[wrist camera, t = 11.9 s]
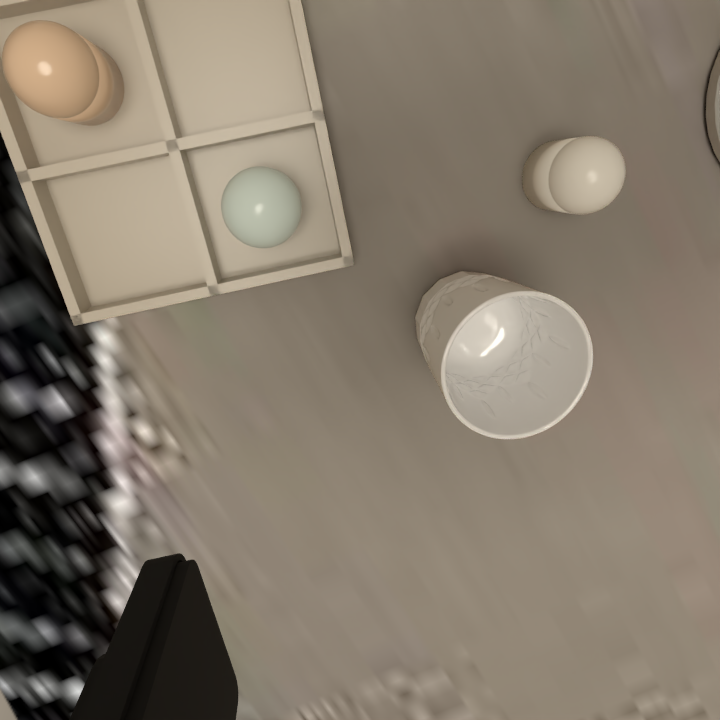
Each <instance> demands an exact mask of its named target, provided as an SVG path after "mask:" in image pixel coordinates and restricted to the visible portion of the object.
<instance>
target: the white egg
mask: <svg viewBox="0 0 720 720" xmlns="http://www.w3.org/2000/svg"><path fill="white" fill-rule="evenodd" d="M625 176H626V165H625V161H624V158H623V155H622V154H621V152H620V150H619V149H618V148H617V147H616V146H615V145H614V144H613V143H612V142H610V141H608V140H606V139H604V138H601V137H597V136H583V137H576V138H569V139H562V140H555V141H550V142H547V143H544V144H542V145H541V146H539V147H538V148H537V149H535V150H534V151H533V152H532V154H531V155H530V156H529V158H528V159H527V161H526V163H525V166H524V169H523V173H522V185H523V189H524V192H525V195H526V196H527V198H528V200H529V201H530V202H531V203H532V204H533V205H535V206H536V207H538V208H540V209H543V210H549V211H556V212H563V213H571V214H590V213H594V212H597V211H599V210H601V209H603V208H605V207H606V206H608V205H609V204H610V203H611V202H612V201H613V200H614V199H615V198H616V197H617V195H618V194H619V192H620V191H621V189H622V187H623V184H624V181H625Z"/></svg>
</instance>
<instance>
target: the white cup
mask: <svg viewBox="0 0 720 720" xmlns="http://www.w3.org/2000/svg"><path fill="white" fill-rule="evenodd" d="M415 323H416V334H417V340H418V342H419V344H420V346H421V348H422V351H423V354H424V357H425V359H426V362H427V364H428V366H429V368H430V370H431V373H432V375H433V377H434V379H435V380H436V382H437V384H438V386H439V388H440V390H441V392H442V394H443V396H444V398H445V400H446V401H447V403H448V405H449V407H450V409H451V410H452V412H453V413H454V415H455V416H456V417H457V418H458V419H459V420H460V421H461V422H462V423H463V424H464V425H466V426H467V427H468V428H470V429H472V430H473V431H475V432H477V433H479V434H482V435H485V436H488V437H492V438H497V439H519V438H524V437H529V436H532V435H535V434H538V433H540V432H542V431H544V430H546V429H548V428H550V427H552V426H553V425H555V424H556V423H558V422H559V421H560V420H562V419H563V418H564V417H565V416H566V415H567V414H568V413H569V412H570V411H571V410H572V409H573V408H574V407H575V405H576V404H577V403H578V401H579V400H580V398H581V397H582V395H583V393H584V391H585V389H586V387H587V384H588V382H589V379H590V375H591V371H592V365H593V347H592V341H591V337H590V334H589V332H588V329H587V327H586V325H585V323H584V322H583V320H582V318H581V317H580V316H579V315H578V313H577V312H576V311H575V310H574V309H573V308H572V307H571V306H569V305H568V304H567V303H565V302H564V301H562V300H560V299H559V298H557V297H554V296H552V295H549V294H546V293H544V292H541V291H538V290H535V289H532V288H530V287H527V286H524V285H522V284H519V283H516V282H513V281H510V280H506V279H503V278H500V277H496V276H492V275H488V274H485V273H477V272H466V271H460V272H458V273H455V274H452V275H450V276H447V277H444V278H442V279H439V280H438V281H437V282H436V283H435V284H434V285H433V286H432V287H431V288H430V289H429V290H428V291H427V292H426V293H425V294H424V295H423V297H422V300H421V303H420V305H419V308H418V311H417V313H416V316H415Z"/></svg>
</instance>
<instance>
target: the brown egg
mask: <svg viewBox="0 0 720 720" xmlns="http://www.w3.org/2000/svg"><path fill="white" fill-rule="evenodd" d="M2 67H3V72H4V75H5V78H6V80H7V82H8V84H9V86H10V88H11V89H12V91H13V92H14V93H15V95H16V96H17V97H18V98H19V99H20V100H21V101H22V102H23V103H24V104H25V105H27V106H28V107H29V108H31V109H32V110H34V111H36V112H38V113H40V114H42V115H45V116H48V117H52V118H56V119H60V120H64V121H68V122H72V123H76V124H81V125H86V126H94V125H100V124H103V123H105V122H107V121H109V120H110V119H112V118H113V117H114V116H115V115H116V113H117V112H118V111H119V109H120V107H121V105H122V102H123V99H124V81H123V77H122V74H121V72H120V69H119V67H118V66H117V64H116V62H115V61H114V60H113V59H112V57H111V56H110V55H109V54H108V53H107V52H105V51H104V50H103V49H101V48H100V47H98V46H97V45H95V44H94V43H92V42H90V41H89V40H87V39H86V38H84V37H83V36H81V35H79V34H78V33H76V32H75V31H73V30H72V29H70V28H68V27H66V26H64V25H62V24H59V23H56V22H53V21H47V20H35V21H30V22H26V23H24V24H22V25H20V26H18V27H17V28H15V29H14V30H13V31H12V32H11V33H10V35H9V36H8V38H7V39H6V41H5V44H4V47H3V51H2Z"/></svg>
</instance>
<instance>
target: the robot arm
mask: <svg viewBox="0 0 720 720" xmlns="http://www.w3.org/2000/svg"><path fill="white" fill-rule="evenodd" d="M706 121H707V128H708V135H709V138H710V141H711V144H712V147H713V150H714V153H715V155H716V156H717V158H718V160H719V162H720V51H719V53H718V56H717V58H716V61H715V64H714V67H713V69H712V72H711V76H710V81H709V86H708V91H707V99H706ZM237 706H238V685H237V680H236V676H235V673H234V670H233V667H232V664H231V661H230V658H229V655H228V652H227V650H226V647H225V644H224V641H223V638H222V635H221V632H220V629H219V626H218V623H217V620H216V617H215V614H214V612H213V609H212V606H211V603H210V600H209V597H208V594H207V591H206V588H205V585H204V582H203V579H202V576H201V574H200V571H199V568H198V565H197V563H196V562H195V560H188V561H186V560H185V558H184V556H183V555H182V554H180V553H179V554H174V555H169V556H165V557H160V558H155V559H151V560H147V561H146V562H145V563H144V564H143V566H142V569H141V571H140V573H139V576H138V578H137V580H136V583H135V585H134V588H133V590H132V592H131V595H130V597H129V600H128V602H127V604H126V607H125V609H124V612H123V614H122V616H121V619H120V621H119V623H118V626H117V628H116V631H115V633H114V635H113V638H112V640H111V643H110V645H109V647H108V650H107V652H106V654H103V655H102V656H101V657H99V658H98V659H97V660H96V662H95V664H94V666H93V667H92V669H91V672H90V674H89V676H88V678H87V681H86V683H85V685H84V688H83V690H82V692H81V695H80V697H79V699H78V701H77V704H76V706H75V708H74V711H73V713H72V715H71V718H70V720H236V713H237Z"/></svg>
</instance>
